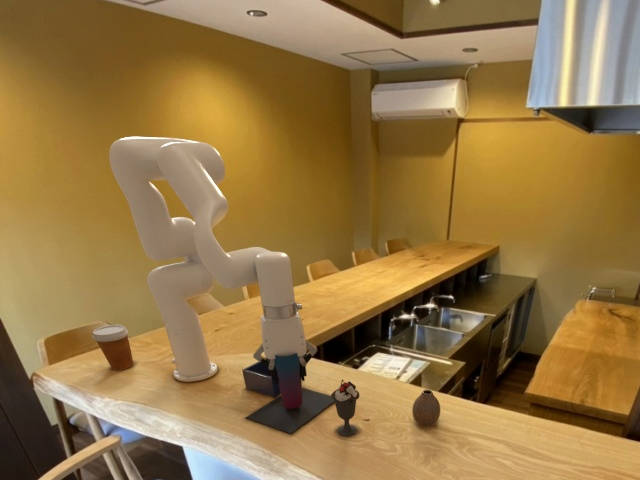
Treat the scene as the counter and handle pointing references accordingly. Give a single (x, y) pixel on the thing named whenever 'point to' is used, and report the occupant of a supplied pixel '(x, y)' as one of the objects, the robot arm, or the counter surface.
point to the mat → (291, 412)
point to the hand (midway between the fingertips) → (289, 379)
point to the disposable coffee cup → (114, 345)
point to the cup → (289, 379)
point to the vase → (426, 409)
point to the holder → (260, 380)
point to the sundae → (346, 406)
